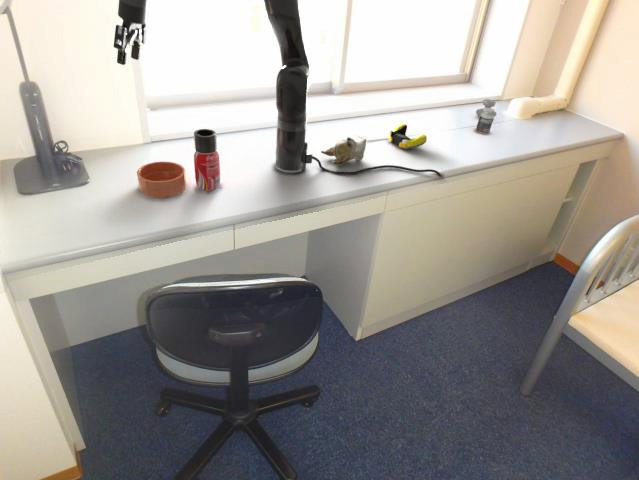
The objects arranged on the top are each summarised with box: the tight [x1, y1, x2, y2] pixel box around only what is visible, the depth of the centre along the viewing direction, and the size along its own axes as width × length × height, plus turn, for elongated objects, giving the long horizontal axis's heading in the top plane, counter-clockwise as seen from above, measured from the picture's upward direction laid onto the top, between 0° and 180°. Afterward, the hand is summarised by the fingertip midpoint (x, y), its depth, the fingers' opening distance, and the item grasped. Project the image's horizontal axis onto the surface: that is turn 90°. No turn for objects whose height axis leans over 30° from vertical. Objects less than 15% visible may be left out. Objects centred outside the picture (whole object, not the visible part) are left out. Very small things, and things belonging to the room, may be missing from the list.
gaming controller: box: [388, 123, 428, 150], centre depth 171 cm, size 15×6×10 cm
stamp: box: [475, 98, 497, 119], centre depth 204 cm, size 9×7×8 cm
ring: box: [193, 128, 218, 154], centre depth 123 cm, size 6×6×5 cm
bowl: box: [136, 161, 187, 199], centre depth 126 cm, size 13×13×6 cm
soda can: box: [193, 150, 221, 192], centre depth 128 cm, size 7×7×12 cm
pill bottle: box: [475, 107, 496, 135], centre depth 189 cm, size 6×6×10 cm
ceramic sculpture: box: [320, 137, 367, 166], centre depth 152 cm, size 11×9×15 cm
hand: (128, 61), depth 128 cm, fingers open, 8 cm apart
